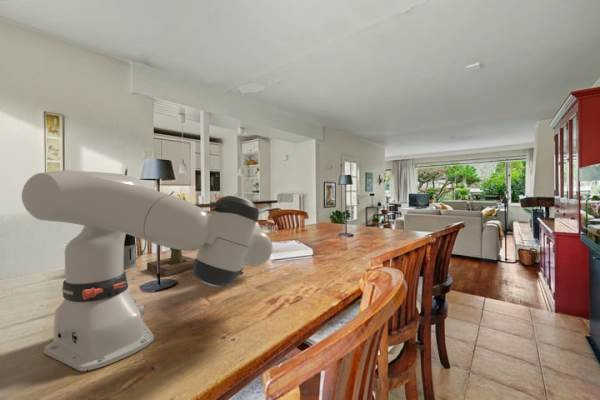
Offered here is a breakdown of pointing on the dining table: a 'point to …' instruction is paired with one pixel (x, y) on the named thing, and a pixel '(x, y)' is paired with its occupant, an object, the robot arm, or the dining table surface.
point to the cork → (176, 256)
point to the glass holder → (130, 251)
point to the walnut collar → (171, 266)
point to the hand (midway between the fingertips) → (199, 238)
